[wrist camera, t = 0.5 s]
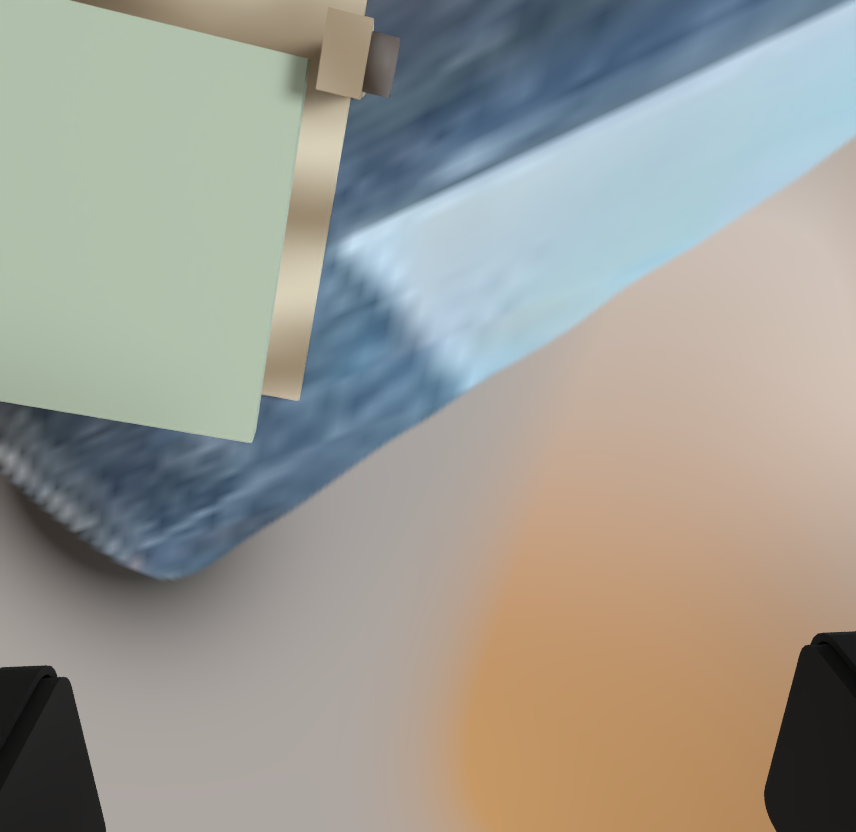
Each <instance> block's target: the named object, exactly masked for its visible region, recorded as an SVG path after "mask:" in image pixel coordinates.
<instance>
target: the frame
mask: <svg viewBox="0 0 856 832" xmlns="http://www.w3.org/2000/svg"><path fill="white" fill-rule="evenodd" d="M71 1H75V2H79V3H83V4H87V5H91V6H95V7H99V8H103V9H107V10H111V11H115V12H120V13H124V14H128V15H132V16H136V17H140V18H144V19H148V20H152V21H156V22H160V23H164V24H168V25H173V26H177V27H181V28H185V29H189V30H193V31H197V32H201V33H205V34H209V35H213V36H217V37H221V38H226V39H230V40H234V41H238V42H242V43H246V44H250V45H254V46H258V47H262V48H266V49H270V50H274V51H278V52H283V53H287V54H291V55H295V56H299V57H303V58H307V59H310V60H311V61H310V68H309V75H308V81H307V88H306V95H305V102H304V108H303V115H302V122H301V129H300V135H299V142H298V149H297V156H296V163H295V169H294V176H293V183H292V190H291V196H290V203H289V210H288V217H287V223H286V230H285V237H284V244H283V251H282V257H281V264H280V271H279V278H278V284H277V291H276V298H275V305H274V311H273V318H272V325H271V332H270V339H269V345H268V352H267V359H266V366H265V372H264V379H263V386H262V393H261V394H262V395H268V396H274V397H279V398H285V399H291V400H296V401H299V399H300V394H301V389H302V383H303V377H304V371H305V365H306V359H307V353H308V348H309V342H310V336H311V330H312V324H313V318H314V312H315V306H316V300H317V294H318V288H319V283H320V277H321V271H322V265H323V259H324V253H325V247H326V241H327V235H328V229H329V224H330V218H331V212H332V206H333V200H334V194H335V188H336V182H337V176H338V170H339V165H340V159H341V153H342V147H343V141H344V135H345V129H346V123H347V117H348V111H349V106H350V100H351V98H355V99H359V100H360V99H361V98H362V97H363V96H364V95H365V93H370V94H374V95H378V96H382V97H386V98H389V97H390V93H391V88H392V83H393V78H394V73H395V68H396V62H397V57H398V51H399V45H400V38H398V37H394V36H390V35H386V34H382V33H378V32H375V31H374V18H370V17H366V16H365V11H366V5H367V0H71Z"/></svg>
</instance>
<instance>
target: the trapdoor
mask: <svg viewBox="0 0 856 832" xmlns="http://www.w3.org/2000/svg"><path fill="white" fill-rule="evenodd" d="M310 61H311V60H310V59H307V58H303V57H299V56H295V55H291V54H287V53H283V52H278V51H274V50H270V49H266V48H262V47H258V46H254V45H250V44H246V43H242V42H238V41H234V40H230V39H226V38H221V37H217V36H213V35H209V34H205V33H201V32H197V31H193V30H189V29H185V28H181V27H177V26H173V25H168V24H164V23H160V22H156V21H152V20H148V19H144V18H140V17H136V16H132V15H128V14H124V13H120V12H115V11H111V10H107V9H103V8H99V7H95V6H91V5H87V4H83V3H79V2H75V1H71V0H0V401H2V402H8V403H14V404H20V405H26V406H32V407H38V408H44V409H50V410H56V411H62V412H68V413H74V414H80V415H86V416H92V417H98V418H104V419H110V420H116V421H122V422H128V423H134V424H140V425H146V426H152V427H158V428H164V429H170V430H176V431H182V432H188V433H194V434H200V435H206V436H212V437H218V438H224V439H230V440H236V441H242V442H247V443H252V441H253V438H254V435H255V432H256V427H257V420H258V413H259V406H260V399H261V393H262V386H263V379H264V372H265V366H266V359H267V352H268V345H269V339H270V332H271V325H272V318H273V311H274V305H275V298H276V291H277V284H278V278H279V271H280V264H281V257H282V251H283V244H284V237H285V230H286V223H287V217H288V210H289V203H290V196H291V190H292V183H293V176H294V169H295V163H296V156H297V149H298V142H299V135H300V129H301V122H302V115H303V108H304V102H305V95H306V88H307V81H308V75H309V68H310Z"/></svg>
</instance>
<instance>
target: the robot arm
mask: <svg viewBox="0 0 856 832" xmlns="http://www.w3.org/2000/svg"><path fill="white" fill-rule="evenodd" d="M764 797H765V805H766V809H767V813H768V816H769V818H770V820H771V822H772V824H773V826H774V828H775V830H776V832H856V631H855V632H833V633H832V632H831V633H820V634H817V635H816V636H815V637H814V638H813V640H812V642H811V644H810V645H805V646H804V647H803V648H802V650H801V652H800V655H799V659H798V663H797V667H796V670H795V674H794V678H793V682H792V686H791V690H790V693H789V697H788V701H787V705H786V709H785V713H784V716H783V720H782V725H781V728H780V732H779V736H778V739H777V743H776V747H775V751H774V755H773V759H772V762H771V766H770V770H769V774H768V778H767V781H766V785H765V791H764ZM0 832H106V827H105V822H104V818H103V814H102V809H101V806H100V801H99V797H98V794H97V789H96V785H95V781H94V776H93V772H92V768H91V765H90V760H89V756H88V752H87V748H86V744H85V740H84V736H83V731H82V727H81V723H80V719H79V715H78V711H77V707H76V703H75V699H74V694H73V690H72V687H71V683H70V681H69V679H68V678H66V677H57V674H56V672H55V670H54V669H53V668H52V666H23V667H2V668H0Z"/></svg>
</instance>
